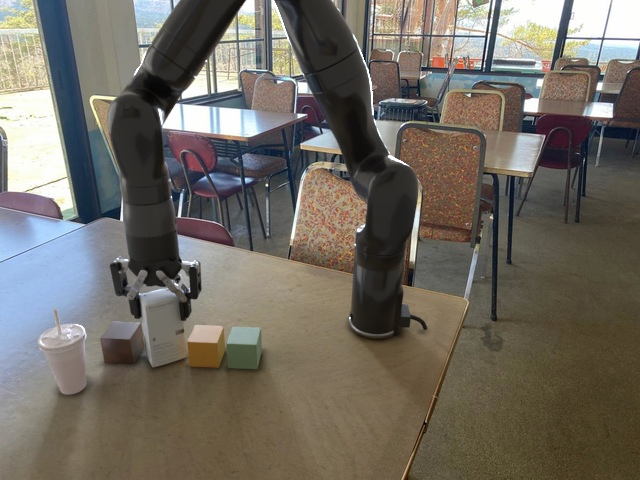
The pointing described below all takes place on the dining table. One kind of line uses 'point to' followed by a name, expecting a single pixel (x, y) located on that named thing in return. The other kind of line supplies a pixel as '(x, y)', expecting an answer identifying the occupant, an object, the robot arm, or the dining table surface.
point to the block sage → (244, 348)
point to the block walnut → (122, 342)
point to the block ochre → (206, 346)
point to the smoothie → (65, 355)
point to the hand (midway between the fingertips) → (162, 317)
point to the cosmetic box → (162, 327)
